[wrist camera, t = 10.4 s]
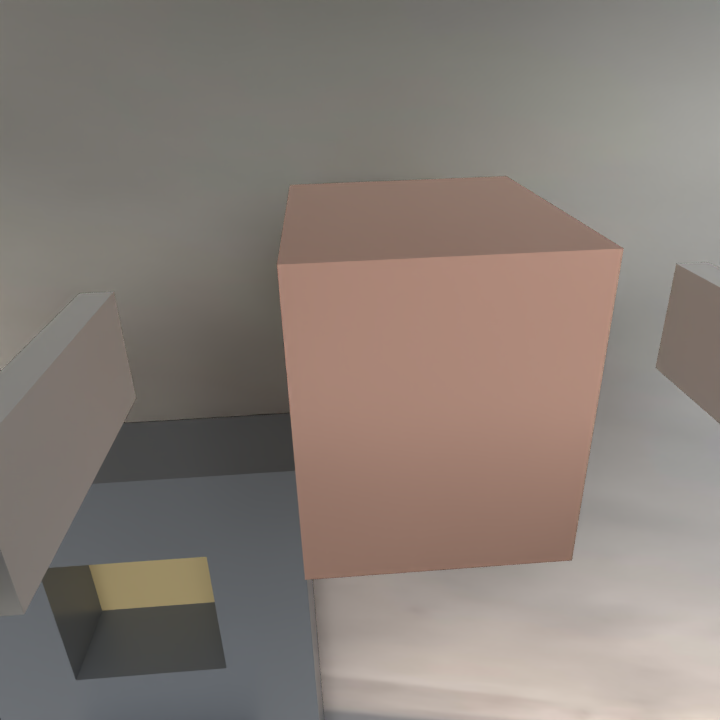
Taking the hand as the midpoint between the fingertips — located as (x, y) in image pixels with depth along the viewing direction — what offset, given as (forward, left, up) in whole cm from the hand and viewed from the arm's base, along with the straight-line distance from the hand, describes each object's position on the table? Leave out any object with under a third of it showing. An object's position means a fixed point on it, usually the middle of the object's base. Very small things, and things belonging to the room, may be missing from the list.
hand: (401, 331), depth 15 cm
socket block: (+16, -9, -6) cm, 19 cm away
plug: (0, 0, -6) cm, 6 cm away
